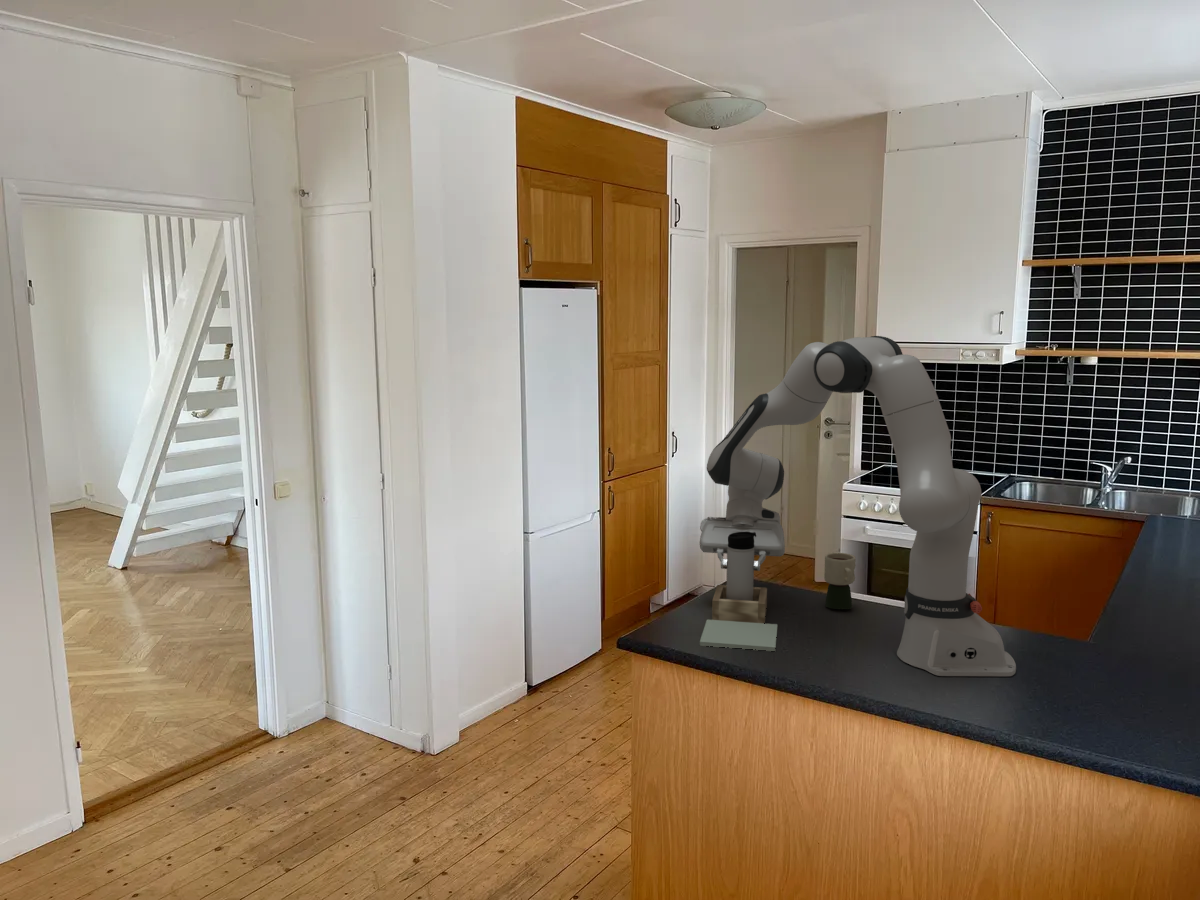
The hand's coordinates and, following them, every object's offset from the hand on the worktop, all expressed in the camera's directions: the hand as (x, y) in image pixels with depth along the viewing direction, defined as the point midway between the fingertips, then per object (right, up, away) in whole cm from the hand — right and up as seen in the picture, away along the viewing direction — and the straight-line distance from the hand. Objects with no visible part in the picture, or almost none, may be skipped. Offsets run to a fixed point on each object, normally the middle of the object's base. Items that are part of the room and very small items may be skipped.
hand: (740, 568), depth 205 cm
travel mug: (0, -11, +2) cm, 12 cm away
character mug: (+25, -11, +6) cm, 28 cm away
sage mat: (-2, -13, -12) cm, 18 cm away
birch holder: (0, -11, +2) cm, 11 cm away
